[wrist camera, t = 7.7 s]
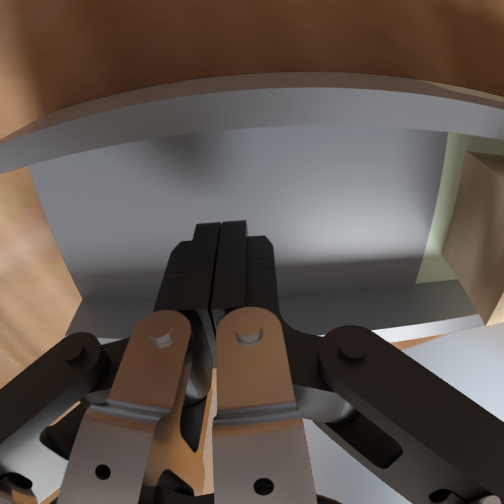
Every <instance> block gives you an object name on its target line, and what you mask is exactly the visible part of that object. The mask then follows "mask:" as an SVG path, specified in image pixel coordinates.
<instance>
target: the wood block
mask: <svg viewBox="0 0 504 504" xmlns="http://www.w3.org/2000/svg"><path fill="white" fill-rule="evenodd" d="M441 254H442V256H443V257H444V259H445V260H446V262H447V263H448V265H449V266H450V268H451V270H452V271H453V273H454V274H455V276H456V277H457V279H458V280H459V282H460V284H461V285H462V287H463V288H464V290H465V292H466V293H467V295H468V297H469V298H470V300H471V302H472V303H473V305H474V307H475V308H476V310H477V312H478V314H479V315H480V317H481V319H482V321H483V323H484V324H485V326H489V325H493V324H497V323H502V322H504V156H502V155H495V154H487V153H480V152H471V151H466V152H465V158H464V164H463V169H462V174H461V179H460V184H459V189H458V193H457V198H456V202H455V206H454V210H453V214H452V218H451V222H450V226H449V229H448V233H447V237H446V240H445V243H444V247H443V250H442V253H441Z"/></svg>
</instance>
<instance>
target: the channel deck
mask: <svg viewBox="0 0 504 504" xmlns="http://www.w3.org/2000/svg"><path fill="white" fill-rule="evenodd" d="M466 151H471V152H480V153H487V154H495V155H502V156H504V97H501V96H497V95H493V94H489V93H485V92H481V91H477V90H473V89H468V88H463V87H459V86H454V85H448V84H443V83H437V82H431V81H425V80H418V79H411V78H403V77H394V76H384V75H373V74H360V73H341V72H273V73H254V74H240V75H229V76H219V77H210V78H202V79H194V80H187V81H180V82H174V83H168V84H162V85H157V86H151V87H146V88H141V89H136V90H132V91H127V92H123V93H118V94H114V95H110V96H106V97H102V98H98V99H94V100H91V101H87V102H84V103H80V104H77V105H73V106H70V107H67V108H63V109H60V110H57V111H54V112H52V113H50V114H48V115H46V116H44V117H42V118H40V119H38V120H36V121H34V122H32V123H30V124H28V125H26V126H24V127H22V128H21V129H19V130H17V131H15V132H13V133H12V134H10V135H8V136H6V137H5V138H3V139H1V140H0V174H2V173H5V172H8V171H11V170H15V169H18V168H21V167H25V166H28V167H29V171H30V174H31V177H32V180H33V183H34V186H35V189H36V192H37V194H38V197H39V200H40V203H41V206H42V208H43V211H44V214H45V216H46V219H47V221H48V224H49V226H50V229H51V231H52V234H53V236H54V239H55V241H56V243H57V246H58V248H59V250H60V252H61V255H62V257H63V259H64V261H65V264H66V266H67V268H68V270H69V272H70V274H71V276H72V278H73V281H74V283H75V285H76V287H77V289H78V291H79V293H80V295H81V297H82V299H83V300H82V301H81V303H80V305H79V307H78V309H77V311H76V313H75V315H74V318H73V320H72V322H71V324H70V326H69V328H68V330H67V332H66V334H65V336H66V337H67V336H69V335H71V334H73V333H77V332H88V333H91V334H93V335H94V336H95V337H96V338H97V339H98V340H99V342H100V344H101V345H102V344H106V343H110V342H114V341H118V340H122V339H125V338H128V337H130V336H131V335H132V332H133V330H134V328H135V326H136V325H137V323H138V322H139V321H140V320H141V319H143V318H144V317H145V316H147V315H149V314H151V313H153V310H154V306H155V303H156V299H157V296H158V292H159V289H160V286H161V282H162V279H163V277H164V272H165V269H166V266H167V263H168V260H169V257H170V253H171V251H172V250H173V249H174V248H175V247H176V246H177V245H178V244H179V243H180V242H181V241H191V240H192V239H193V235H194V231H195V227H196V224H200V223H212V222H221V223H222V222H224V221H238V220H247V226H248V235H249V236H262V235H265V236H266V237H267V238H268V239H269V241H270V242H271V243H272V244H273V248H274V259H275V270H276V280H277V291H278V302H279V311H280V314H281V316H282V318H283V320H284V321H285V322H286V323H287V324H288V325H289V326H291V327H292V328H294V329H296V330H298V331H300V332H303V333H307V334H312V335H317V336H323V337H324V336H325V335H326V334H327V333H328V332H329V331H331V330H332V329H334V328H337V327H340V326H344V325H357V326H362V327H365V328H367V329H369V330H371V331H373V332H374V333H376V334H377V335H379V336H380V337H382V338H383V339H384V340H386V341H387V342H396V341H403V340H410V339H416V338H422V337H428V336H434V335H440V334H445V333H451V332H456V331H461V330H466V329H470V328H475V327H480V326H485V324H484V323H483V321H482V319H481V317H480V315H479V314H478V312H477V310H476V308H475V307H474V305H473V303H472V302H471V300H470V298H469V297H468V295H467V293H466V292H465V290H464V288H463V287H462V285H461V284H460V282H459V280H458V279H457V277H456V276H455V274H454V273H453V271H452V270H451V268H450V266H449V265H448V263H447V262H446V260H445V259H444V257H443V256H442V254H441V253H442V250H443V247H444V243H445V240H446V237H447V233H448V229H449V226H450V222H451V218H452V214H453V210H454V206H455V202H456V198H457V193H458V189H459V184H460V179H461V174H462V169H463V164H464V158H465V152H466Z"/></svg>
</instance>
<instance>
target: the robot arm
mask: <svg viewBox="0 0 504 504" xmlns="http://www.w3.org/2000/svg"><path fill="white" fill-rule="evenodd" d="M213 368H217V415H216V416H215V417H214V419H213V426H212V444H213V446H212V447H213V476H214V493H212V494H206V495H202V493H203V486H204V478H205V476H204V475H205V470H204V463H203V450H204V444H205V438H206V431H207V425H208V418H209V413H210V407H211V400H212V393H213V391H212V386H211V382H212V370H213ZM77 401H80V402H81V403H80V404H79V405H78V406H77V407H76V408H74V409H73V410H72V411H71V412H69V413H68V414H67V415H66V416H65V417H63V418H62V419H61V420H60V421H59V422H57V423H56V424H55V425H52V426H48V425H50V424H51V423H52V422H53V421H55V420H56V419H57V418H58V417H59V416H61V415H62V414H63V413H64V412H65V411H66V410H68V409H69V408H70V407H71V406H73V405H74V404H75V403H76V402H77ZM302 418H305V419H310V420H313V422H314V423H315V424H316V425H317V426H318V427H319V428H320V429H321V430H322V431H323V432H324V433H326V434H327V435H328V436H329V437H330V438H331V439H332V440H334V441H335V442H336V443H337V444H338V445H339V446H341V447H342V448H343V449H344V450H346V451H347V452H348V453H349V454H350V455H351V456H352V457H354V458H355V459H356V460H357V461H359V462H360V463H361V464H362V465H363V466H365V467H366V468H367V469H368V470H370V471H371V472H372V473H373V474H375V475H376V476H377V477H378V478H380V479H381V480H382V481H383V482H385V483H386V484H387V485H389V486H390V487H391V488H393V489H394V490H395V491H397V492H398V493H399V494H401V495H402V496H403V497H405V498H406V499H407V500H408V501H410V502H412V503H413V504H504V422H503V421H501V420H500V419H498V418H497V417H496V416H494V415H493V414H491V413H489V412H488V411H487V410H485V409H484V408H482V407H481V406H480V405H478V404H477V403H475V402H474V401H473V400H471V399H470V398H468V397H467V396H465V395H464V394H462V393H461V392H460V391H458V390H457V389H455V388H454V387H452V386H451V385H449V384H448V383H447V382H445V381H444V380H442V379H441V378H439V377H438V376H437V375H435V374H434V373H432V372H431V371H429V370H428V369H426V368H425V367H424V366H422V365H421V364H419V363H418V362H416V361H415V360H413V359H412V358H411V357H409V356H407V355H406V354H405V353H403V352H402V351H400V350H399V349H397V348H396V347H395V346H393V345H392V344H390V343H389V342H387V341H386V340H384V339H383V338H382V337H380V336H379V335H377V334H376V333H374V332H373V331H371V330H369V329H367V328H365V327H362V326H357V325H344V326H340V327H337V328H334V329H332V330H331V331H329V332H328V333H327V334H326V335H325V336H324V337H323V336H317V335H312V334H307V333H303V332H300V331H298V330H296V329H294V328H292V327H291V326H289V325H288V324H287V323H286V322H285V321H284V320H283V318H282V316H281V314H280V311H279V302H278V291H277V280H276V270H275V259H274V248H273V244H272V243H271V242H270V241H269V239H268V238H267V237H266V236H265V235H262V236H249V235H248V226H247V220H238V221H224V222H222V223H221V222H212V223H200V224H196V227H195V231H194V235H193V239H192V240H191V241H181V242H180V243H179V244H178V245H177V246H176V247H175V248H174V249H173V250H172V251H171V253H170V257H169V260H168V263H167V266H166V269H165V272H164V277H163V279H162V282H161V286H160V289H159V292H158V296H157V299H156V303H155V306H154V310H153V313H151V314H149V315H147V316H145V317H144V318H143V319H141V320H140V321H139V322H138V323H137V325H136V326H135V328H134V330H133V332H132V335H131V336H130V337H128V338H125V339H122V340H118V341H114V342H110V343H106V344H102V345H101V344H100V342H99V340H98V339H97V338H96V337H95V336H94V335H93V334H91V333H88V332H77V333H73V334H71V335H69V336H67V337H65V338H64V339H62V340H61V341H60V342H59V343H57V344H56V345H55V346H53V347H52V348H51V349H50V350H48V351H47V352H46V353H45V354H43V355H42V356H41V357H40V358H38V359H37V360H36V361H35V362H33V363H32V364H31V365H30V366H28V367H27V368H26V369H25V370H23V371H22V372H21V373H20V374H19V375H17V376H16V377H15V378H14V379H12V381H10V382H9V383H8V384H6V385H5V386H4V387H3V388H2V389H0V504H40V503H41V502H42V501H43V500H44V499H46V498H47V497H48V496H50V495H51V494H52V493H53V492H55V491H56V490H57V489H58V488H59V487H61V488H60V492H59V496H58V497H56V498H55V499H54V500H53V501H52V502H51V503H50V504H342V503H340V502H338V501H336V500H333V499H331V498H327V497H325V496H322V495H317V494H316V492H315V486H314V481H313V475H312V469H311V463H310V458H309V452H308V446H307V441H306V436H305V430H304V425H303V420H302Z"/></svg>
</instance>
